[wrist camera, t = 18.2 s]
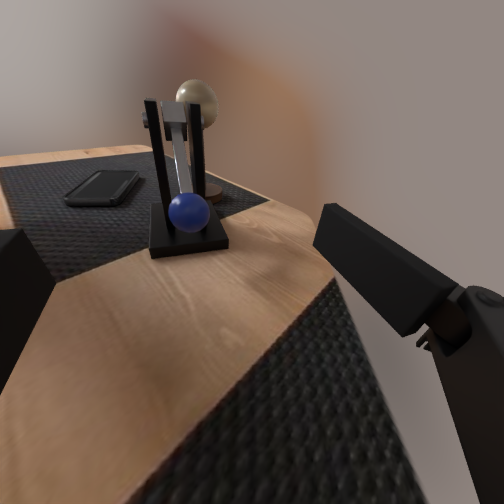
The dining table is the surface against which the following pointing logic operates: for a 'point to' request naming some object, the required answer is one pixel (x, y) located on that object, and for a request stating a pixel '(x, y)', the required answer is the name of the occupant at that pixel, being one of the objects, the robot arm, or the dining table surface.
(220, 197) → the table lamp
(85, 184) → the phone
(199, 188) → the switch bracket
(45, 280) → the robot arm
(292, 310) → the dining table surface
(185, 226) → the switch lever
